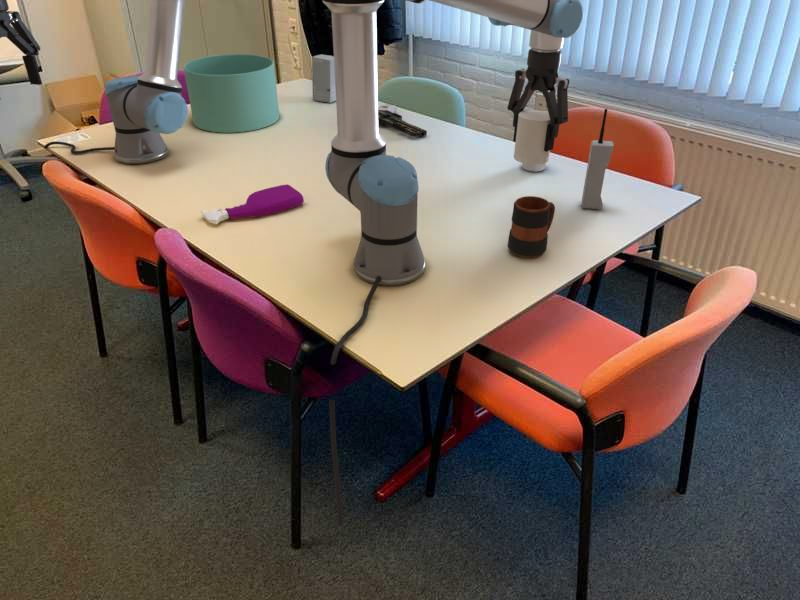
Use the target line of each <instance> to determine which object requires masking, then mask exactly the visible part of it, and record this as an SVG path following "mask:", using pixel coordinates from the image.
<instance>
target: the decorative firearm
mask: <svg viewBox="0 0 800 600" xmlns="http://www.w3.org/2000/svg"><path fill="white" fill-rule="evenodd" d="M397 110H398V107H397V105H393V104H388V103H385V104H382V105H379V106H378V125H382V126H383V127H384V126H389V127H391V128H393V129H395V130H397V131H399V132H401V133H404V134H406V135H408V136H411V137H415V138H416V137H419V138H424V137H426V136H427V132H428V130H426V129H423V128H421V127H420V126H416V125H413V124H411V123H409V122H406V121H405V120H403V115H401V114H399V113H397Z"/></svg>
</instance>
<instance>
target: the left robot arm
mask: <svg viewBox="0 0 800 600" xmlns="http://www.w3.org/2000/svg"><path fill="white" fill-rule="evenodd" d="M185 5H186V0H150V2H149V13H148V23H147V35H146V48H145V59H144V71H143V73H142V74H141V75H130V76H122V77H117V78H113V79H110V80H107V81H106V82H105V84H104V91H105V97H106V101H107V104H108V108H109V112H110V115H111V120H112V124H113V128H114V131H115V138H114V146H107V147H94V148H88V149H83V150H82V149H81V150H76V145H75V144H73V143H69V142H66V141H65V142H64V141H50V142H48V143H46V144H45V145H44V146H43V149H48V148H49V147H50V146H52V145H53V146H54V145H60V146H67V147H70V148H71V149H70V153H72V154H75V155H80V154H81V155H82V154H86V153H90V152H98V151H113V155H114V157H115V160H116V161H117V162H118V163H121V164H125V165H142V164H149V163H155V162H157V161H160V160H162V159H164V158H165V157H167V156H168V154H169V149H168V146H167V144H166V142H165V141H164V139H163V137H162V135H161V134H163V135H171V134H174V133H176V132H178V131H179V130H180V129H181V128H183V126H184V125H185V123H186V121H187V119H188V115H189V107H188V104H187V102H186V100H185V99H184V97H183V96H182V93H183V92H182V91H183V86H182V84H181V83H180V82H179V80H178V76H179V66H180V65H179V64H180V54H181V45H182V35H183V28H184V27H183V26H184V16H185V7H186V6H185ZM9 9H10V7H9V4H8V0H0V39H1V38H7V39H8V40H9V41H10V42H11V43H12V44H13V45H14V46H15V47H16V48H17V49H19V50H20V52H21V53H22V54H24V55H22V56H21V57H22V61H23V64H24V67H25V70H26V73H27V77H28V80H29V83H30V85H35V86H37V85H38V86H42V85H43V80H42V79H41V74H40V72H39V63H38V60H37V57H36V56H39V54H40V51H41V46H40V44H39V43H38V41H37V40H36V38H35V37H34V36H33V34H32V33H31V32H30V30H29V29H28V27H27V26H26V24H25V23H24V21H23V19H22V16H21V13H20V12H19V11H17V10H16V11H13V10H9ZM1 100H2V99H1V98H0V101H1Z"/></svg>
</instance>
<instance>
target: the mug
mask: <svg viewBox="0 0 800 600" xmlns="http://www.w3.org/2000/svg"><path fill="white" fill-rule="evenodd" d="M555 213H556V207H555V204H554V203H553V202H551V201H548V200H547V199H546V198H543V197H539V196H531V195H528V196H527V195H526V196H521V197H518V198H517V199H515V201H514V202H513V208H512V213H511V226H510V227H511V228H510V230H509V232H508V233H509V234H508V240H507V248H508V250H509V252H510V253H511V254H512V255H513V256H515V257H518V258H521V259H528V260H529V259H531V260H533V259H537V258H540V257H542V256H543V255H544V254H545V253H546V251H547V247H548V240H549V239H548V238H549V235H548V233H549V231H550V229H551V226H552V224H553V220H554V216H555Z"/></svg>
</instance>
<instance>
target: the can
mask: <svg viewBox="0 0 800 600" xmlns="http://www.w3.org/2000/svg"><path fill="white" fill-rule="evenodd" d="M548 124H551V121H550V117H549V112H548V111H544V110H538V109H537V110H536V109H530V110H529V109H527V110H524V111H522V112H520V113H519V116H518V125H517V133H516V142H514V143H515V144H514V150H513V151H514V152H513V159H514V160H515V161H516V162H518V163H521V164H522V163H524V164H531V165H538V164H544V163H546V164H547V163H548V162H549V160H550V153H551V150H550V151H547V152H546V151H544V147H545V140H546V133H547V126H548Z"/></svg>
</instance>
